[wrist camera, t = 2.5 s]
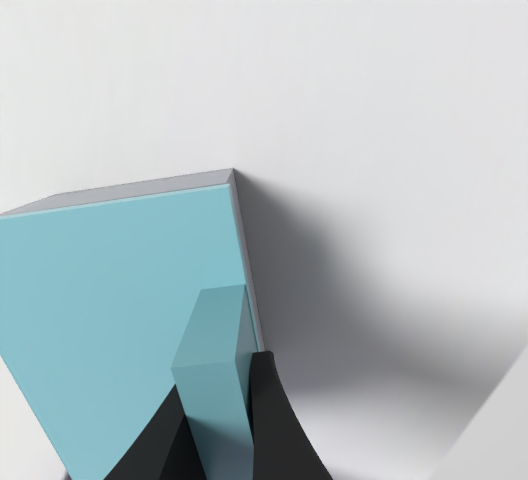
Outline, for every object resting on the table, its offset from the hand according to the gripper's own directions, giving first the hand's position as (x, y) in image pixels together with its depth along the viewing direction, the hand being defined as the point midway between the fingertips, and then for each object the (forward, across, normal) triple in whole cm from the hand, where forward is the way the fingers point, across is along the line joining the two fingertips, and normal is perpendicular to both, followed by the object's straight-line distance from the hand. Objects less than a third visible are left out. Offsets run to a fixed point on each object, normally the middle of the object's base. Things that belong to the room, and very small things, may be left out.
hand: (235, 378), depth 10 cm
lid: (+3, +4, 0) cm, 5 cm away
